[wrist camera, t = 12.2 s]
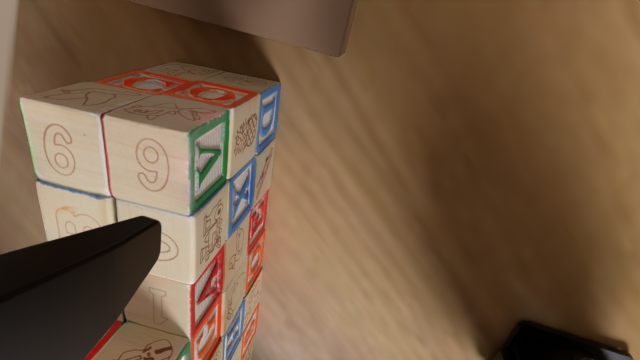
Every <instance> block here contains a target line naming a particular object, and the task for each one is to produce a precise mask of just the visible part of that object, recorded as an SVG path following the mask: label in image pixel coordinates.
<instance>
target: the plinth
mask: <svg viewBox="0 0 640 360" xmlns="http://www.w3.org/2000/svg"><path fill="white" fill-rule="evenodd" d="M130 2H134V3H137V4H141V5H145V6H148V7H152V8H156V9H160V10H163V11H167V12H171V13H175V14H178V15H182V16H186V17H189V18H193V19H197V20H201V21H204V22H208V23H212V24H216V25H219V26H223V27H227V28H230V29H234V30H238V31H242V32H245V33H249V34H253V35H257V36H260V37H264V38H268V39H271V40H275V41H279V42H283V43H286V44H290V45H294V46H298V47H301V48H305V49H309V50H312V51H316V52H320V53H324V54H327V55H331V56H335V57H339V56H341V55H342V54H343V53H345V49H346V45H347V41H348V37H349V33H350V29H351V25H352V21H353V16H354V12H355V8H356V4H357V0H130Z"/></svg>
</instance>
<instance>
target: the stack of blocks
mask: <svg viewBox="0 0 640 360" xmlns="http://www.w3.org/2000/svg"><path fill="white" fill-rule="evenodd" d="M280 86H281V85H280V82H277V81H271V80H266V79H261V78H256V77H251V76H246V75H241V74H236V73H231V72H225V71H223V70H218V69H213V68H209V67H204V66H198V65H193V64H187V63H179V62H171V63H167V64H162V65H159V66H155V67H152V68H148V69H145V70H135V71H131V72H128V73H124V74H120V75H116V76H112V77H108V78H105V79H101V80H98V81H95V82H81V83H77V84H73V85H69V86H64V87H60V88H56V89H51V90H47V91H43V92H38V93H34V94H30V95H26V96H23V97H21V98H20V108H21V111H22V115H23V119H24V124H25V129H26V133H27V138H28V142H29V147H30V153H31V157H32V161H33V167H34V171H35V173H36V174H37V176H38V179H37V180H36V189H37V193H38V198H39V203H40V208H41V213H42V218H43V222H44V227H45V232H46V237H47V241H51V240H55V239H58V238H62V237H65V236H69V235H73V234H76V233H80V232H84V231H87V230H91V229H94V228H98V227H102V226H105V225H109V224H112V223H116V222H120V221H123V220H127V219H130V218H134V217H138V216H147V217H150V218H153V219H156V220H159V221H160V223H161V226H162V231H161V251H160V255H159V258H158V260H157V262H156V263H155V265H154V266H153V268H152V269H151V271H150V272H149V274H148V275H147V277H146V278H145V280H144V281H143V282H142V284H141V285H140V287H139V288H138V290H137V291H136V293H135V294H134V296H133V297H132V299H131V300H130V302H129V303H128V305H127V306H126V308H125V309H124V310H123V312H122V313H121V315H120V316H119V317H118V319H117V320H116V321H115V323H114V324H113V325H112V326H111V328H110V329H109V330H108V331H107V332H106V334H105V335H104V336H103V337H102V338H101V340H100V341H99V342H98V343H97V344H96V345H95V347H94V348H93V349H92V350H91V351H90V353H89V354H88V355H87V356H86V357H85V359H84V360H252V352H253V343H254V335H255V333H256V326H257V318H258V308H259V299H260V293H261V283H262V273H263V268H262V257H263V247H264V238H265V229H264V226H265V219H266V210H267V200H268V188H269V187H270V185H271V179H272V170H273V161H274V152H275V134H276V127H277V119H278V107H279V97H280Z"/></svg>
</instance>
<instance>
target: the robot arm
mask: <svg viewBox="0 0 640 360" xmlns="http://www.w3.org/2000/svg"><path fill="white" fill-rule="evenodd" d="M161 231H162V226H161V223H160V221H159V220H156V219H153V218H150V217H147V216H138V217H134V218H130V219H127V220H123V221H120V222H116V223H112V224H109V225H105V226H102V227H98V228H94V229H91V230H87V231H84V232H80V233H76V234H73V235H69V236H65V237H62V238H58V239H55V240H51V241H47V242H44V243H40V244H36V245H33V246H29V247H26V248H22V249H18V250H15V251H11V252H8V253H4V254H0V360H84V359H85V357H86V356H87V355H88V354H89V353H90V351H91V350H92V349H93V348H94V347H95V345H96V344H97V343H98V342H99V341H100V340H101V338H102V337H103V336H104V335H105V334H106V332H107V331H108V330H109V329H110V328H111V326H112V325H113V324H114V323H115V321H116V320H117V319H118V317H119V316H120V315H121V313H122V312H123V310H124V309H125V308H126V306H127V305H128V303H129V302H130V300H131V299H132V297H133V296H134V294H135V293H136V291H137V290H138V288H139V287H140V285H141V284H142V282H143V281H144V280H145V278H146V277H147V275H148V274H149V272H150V271H151V269H152V268H153V266H154V265H155V263H156V262H157V260H158V258H159V255H160V251H161ZM525 329H529V330H525ZM493 360H634V359H633V357H632V356H631V355H630V353H628V352H625V351H622V350H619V349H616V348H613V347H609V346H606V345H603V344H600V343H597V342H594V341H591V340H587V339H584V338H581V337H578V336H575V335H572V334H568V333H565V332H562V331H559V330H556V329H553V328H550V327H546V326H543V325H540V324H537V323H534V322H531V321H521V322H519V323H518V324H517V325H516V327H515V328H514V330H513V332H512V333H511V335H510V336H509V338H508V339H507V341H506V343H505V344H504V346H503V347H501V348H500V349H499V350H498V352H497V353H496V355H495V356H494V358H493Z"/></svg>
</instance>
